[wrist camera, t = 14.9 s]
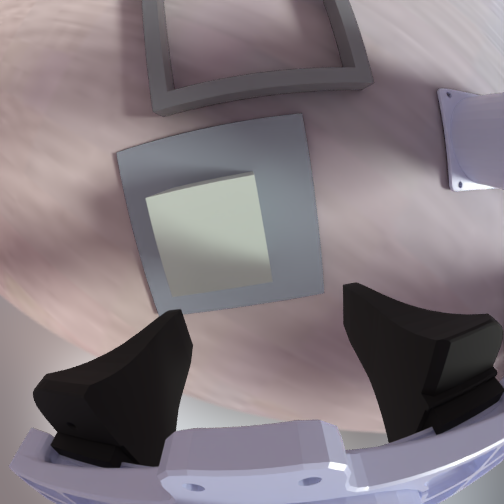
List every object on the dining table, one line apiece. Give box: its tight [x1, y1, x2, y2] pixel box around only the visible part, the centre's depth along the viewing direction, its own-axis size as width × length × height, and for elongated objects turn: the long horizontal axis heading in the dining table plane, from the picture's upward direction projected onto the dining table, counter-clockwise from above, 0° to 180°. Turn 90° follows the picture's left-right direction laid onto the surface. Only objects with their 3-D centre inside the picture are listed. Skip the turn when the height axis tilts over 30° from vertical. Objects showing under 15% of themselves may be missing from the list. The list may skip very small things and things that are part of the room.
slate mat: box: [117, 113, 324, 316], centre depth 18 cm, size 12×12×1 cm
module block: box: [145, 171, 273, 297], centre depth 15 cm, size 5×5×5 cm
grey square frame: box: [142, 0, 374, 117], centre depth 12 cm, size 13×13×2 cm
